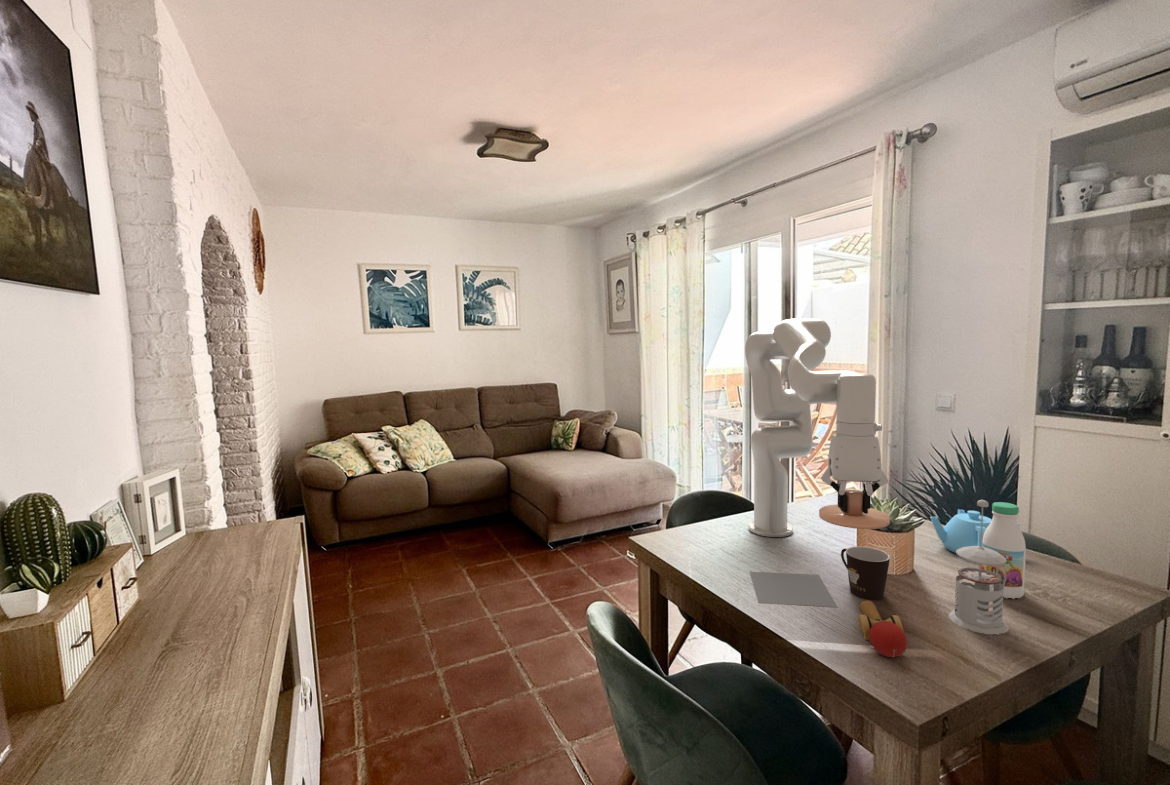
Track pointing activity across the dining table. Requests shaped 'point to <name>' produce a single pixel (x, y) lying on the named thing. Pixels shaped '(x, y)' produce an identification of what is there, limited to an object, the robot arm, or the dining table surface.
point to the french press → (979, 590)
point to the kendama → (882, 631)
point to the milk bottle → (1007, 548)
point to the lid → (854, 514)
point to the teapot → (962, 530)
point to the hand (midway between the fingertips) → (853, 510)
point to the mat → (791, 589)
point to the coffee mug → (866, 571)
